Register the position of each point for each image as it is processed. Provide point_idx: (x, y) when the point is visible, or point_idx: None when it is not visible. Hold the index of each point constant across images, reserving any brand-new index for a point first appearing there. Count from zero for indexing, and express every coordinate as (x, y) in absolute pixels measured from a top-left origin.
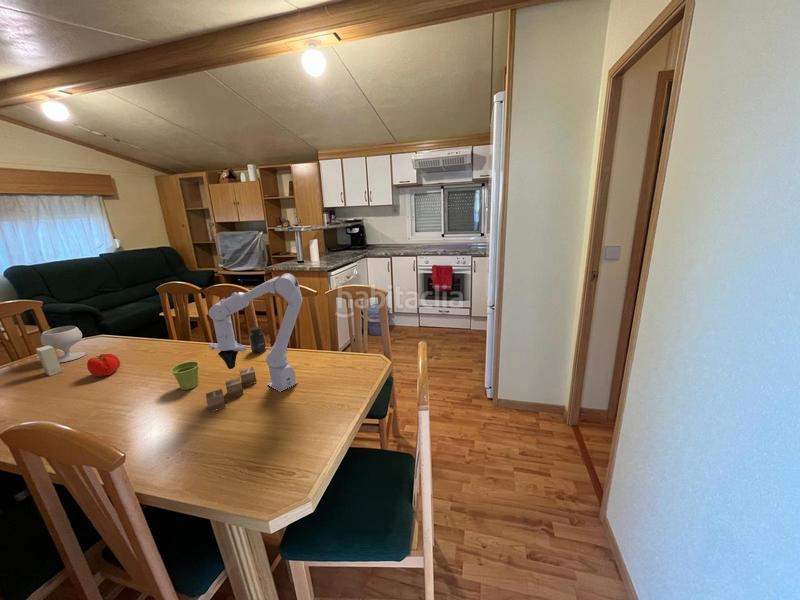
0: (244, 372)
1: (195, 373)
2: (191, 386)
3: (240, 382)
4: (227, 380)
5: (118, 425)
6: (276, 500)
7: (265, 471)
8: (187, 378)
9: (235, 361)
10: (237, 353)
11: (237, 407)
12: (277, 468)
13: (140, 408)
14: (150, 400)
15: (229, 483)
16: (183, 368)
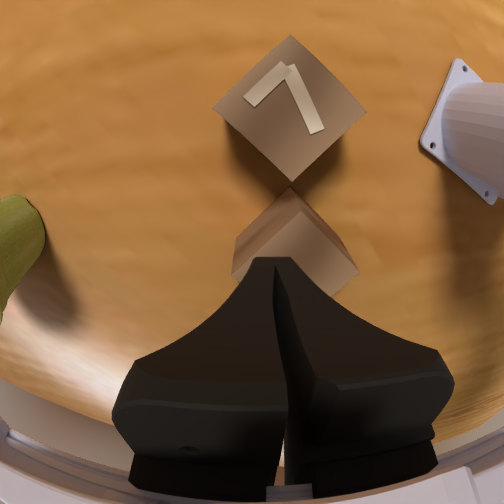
0: (288, 134)
1: (6, 253)
2: (39, 249)
3: (354, 271)
4: (242, 266)
5: (84, 402)
6: (484, 418)
7: (474, 408)
8: (15, 284)
9: (310, 280)
10: (385, 332)
11: (368, 321)
12: (487, 399)
13: (43, 353)
14: (20, 321)
15: None
16: None
